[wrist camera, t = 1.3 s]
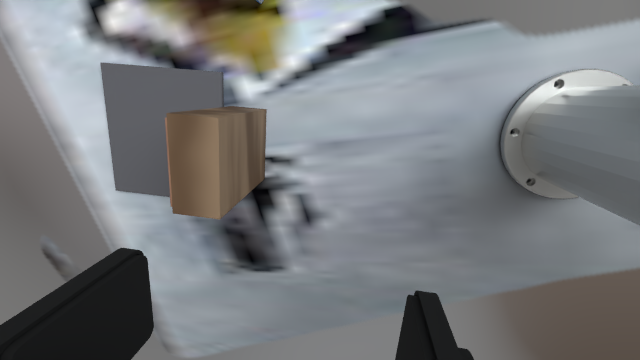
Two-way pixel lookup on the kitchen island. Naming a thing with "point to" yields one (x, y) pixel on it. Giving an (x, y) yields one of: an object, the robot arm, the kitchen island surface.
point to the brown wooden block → (214, 158)
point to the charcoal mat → (150, 118)
